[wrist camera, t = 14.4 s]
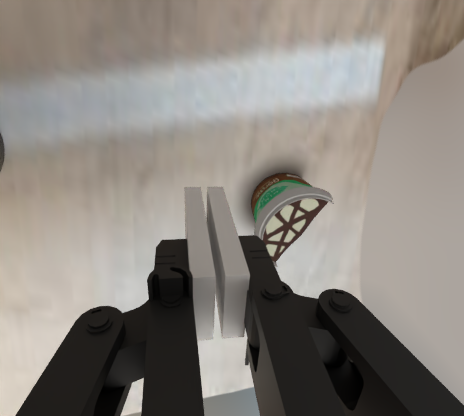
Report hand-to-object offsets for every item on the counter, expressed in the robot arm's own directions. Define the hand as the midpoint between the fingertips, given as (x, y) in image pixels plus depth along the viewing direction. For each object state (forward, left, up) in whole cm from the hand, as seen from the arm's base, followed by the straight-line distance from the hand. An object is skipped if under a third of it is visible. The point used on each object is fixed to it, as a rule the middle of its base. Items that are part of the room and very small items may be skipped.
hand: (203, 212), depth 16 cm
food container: (+12, -13, -30) cm, 34 cm away
